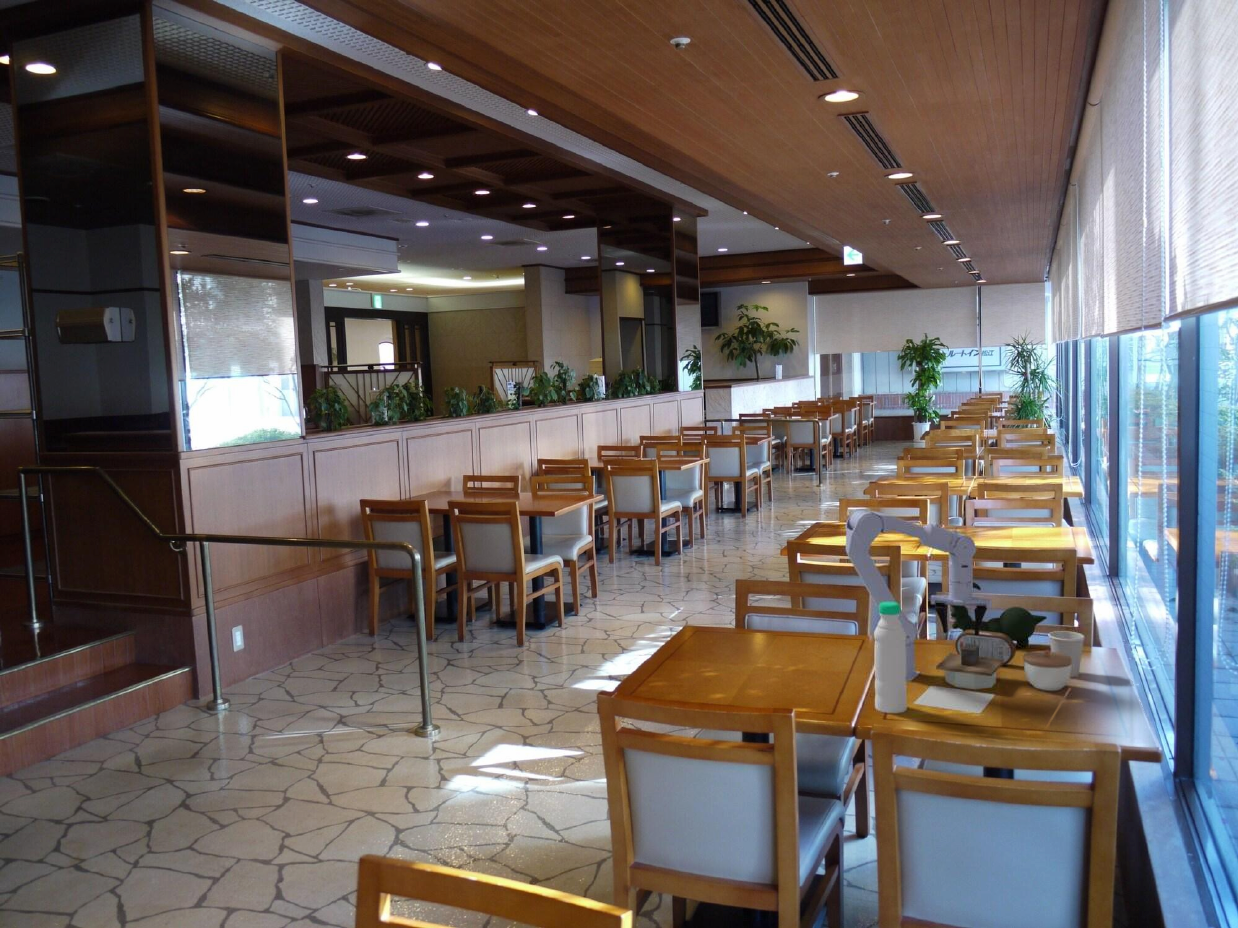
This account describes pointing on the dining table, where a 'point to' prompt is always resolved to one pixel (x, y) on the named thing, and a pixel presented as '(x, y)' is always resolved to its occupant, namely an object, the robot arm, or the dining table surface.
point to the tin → (988, 644)
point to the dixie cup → (1068, 647)
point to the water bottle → (890, 660)
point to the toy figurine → (1001, 622)
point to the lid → (970, 662)
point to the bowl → (970, 680)
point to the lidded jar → (1047, 669)
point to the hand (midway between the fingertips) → (961, 633)
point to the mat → (955, 699)
